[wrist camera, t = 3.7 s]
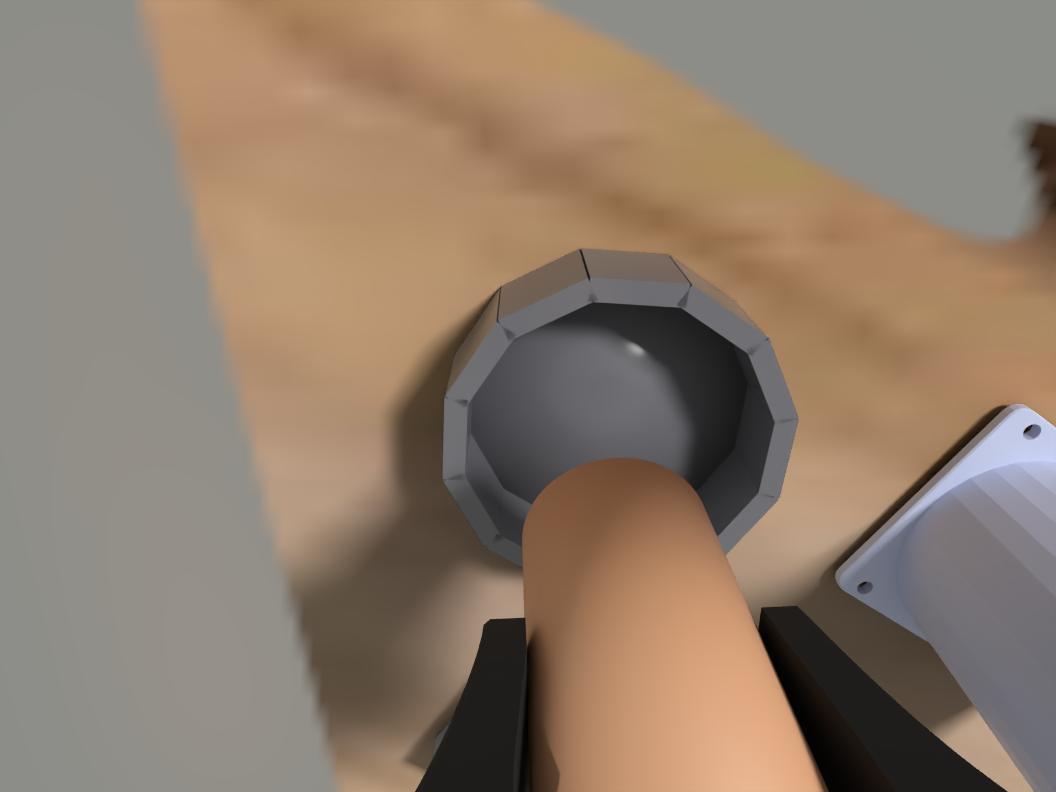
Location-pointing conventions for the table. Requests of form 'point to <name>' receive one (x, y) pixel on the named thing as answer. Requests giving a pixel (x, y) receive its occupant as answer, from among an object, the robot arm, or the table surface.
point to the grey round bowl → (614, 392)
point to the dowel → (646, 646)
